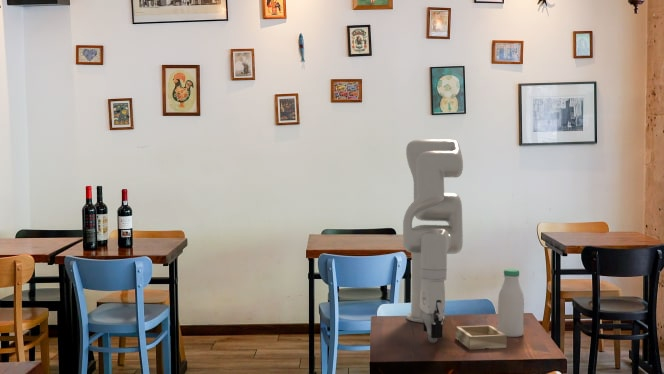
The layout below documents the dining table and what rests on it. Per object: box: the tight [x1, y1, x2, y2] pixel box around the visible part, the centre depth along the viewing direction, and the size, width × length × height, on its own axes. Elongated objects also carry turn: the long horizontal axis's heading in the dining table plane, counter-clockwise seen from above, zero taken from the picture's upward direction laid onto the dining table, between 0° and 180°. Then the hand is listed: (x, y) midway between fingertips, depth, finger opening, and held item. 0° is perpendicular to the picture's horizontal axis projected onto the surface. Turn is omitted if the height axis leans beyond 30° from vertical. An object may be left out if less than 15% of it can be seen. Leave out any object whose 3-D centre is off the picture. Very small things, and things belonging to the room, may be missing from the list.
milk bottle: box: [497, 268, 525, 338], centre depth 221 cm, size 8×8×20 cm
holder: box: [455, 324, 508, 350], centre depth 212 cm, size 12×11×4 cm
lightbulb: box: [422, 312, 444, 344], centre depth 211 cm, size 6×6×11 cm
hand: (432, 334), depth 211 cm, fingers open, 6 cm apart
